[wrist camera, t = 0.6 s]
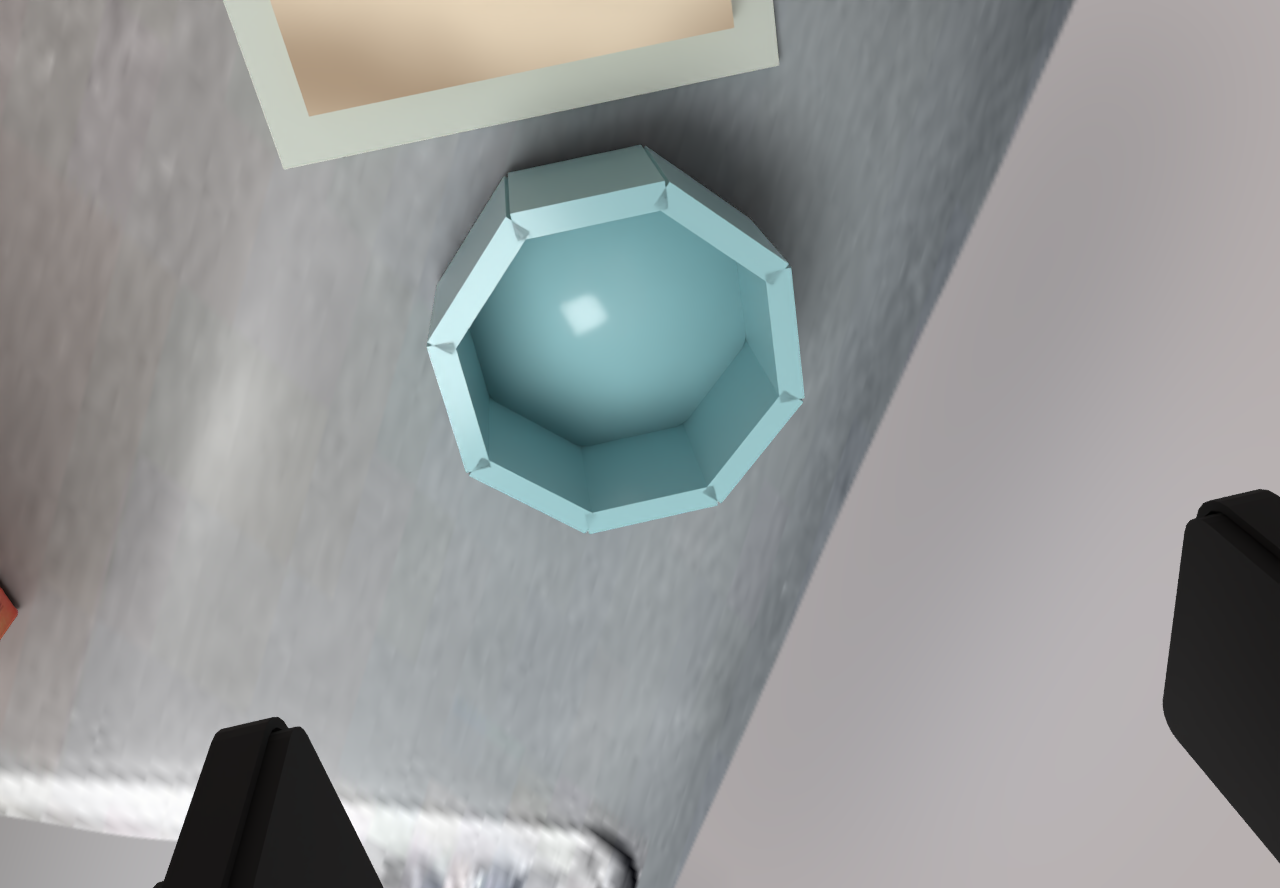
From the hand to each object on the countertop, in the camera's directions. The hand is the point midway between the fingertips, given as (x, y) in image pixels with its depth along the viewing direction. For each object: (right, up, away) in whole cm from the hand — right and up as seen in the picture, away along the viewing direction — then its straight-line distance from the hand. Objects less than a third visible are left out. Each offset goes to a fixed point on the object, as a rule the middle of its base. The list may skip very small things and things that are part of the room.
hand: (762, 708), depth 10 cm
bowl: (-2, +8, +24) cm, 25 cm away
